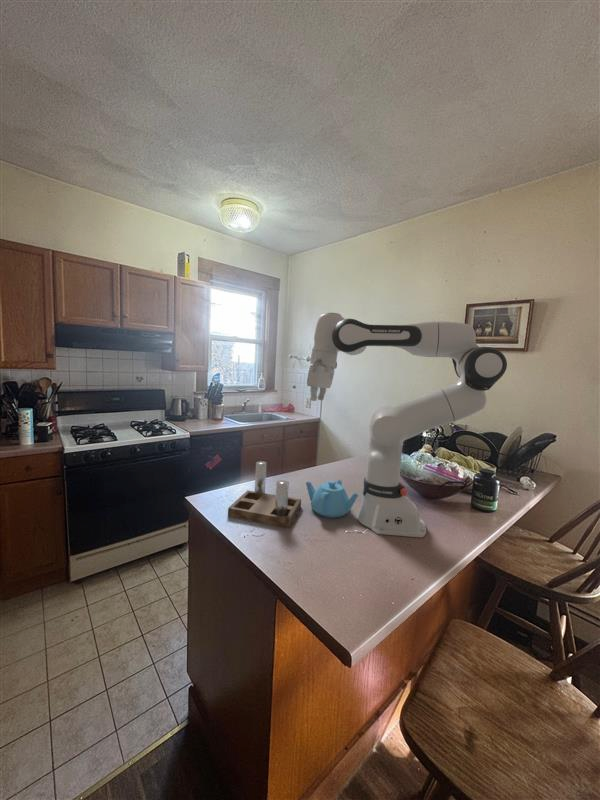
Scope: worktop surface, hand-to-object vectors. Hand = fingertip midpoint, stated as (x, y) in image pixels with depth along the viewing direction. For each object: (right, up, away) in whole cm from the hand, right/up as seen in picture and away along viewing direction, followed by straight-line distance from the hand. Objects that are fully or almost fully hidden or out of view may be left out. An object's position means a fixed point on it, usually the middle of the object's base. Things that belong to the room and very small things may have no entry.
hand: (317, 400), depth 111 cm
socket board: (-18, -39, 0) cm, 43 cm away
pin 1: (-22, -37, +13) cm, 45 cm away
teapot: (+5, -40, +5) cm, 41 cm away
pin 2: (-12, -40, -5) cm, 42 cm away
